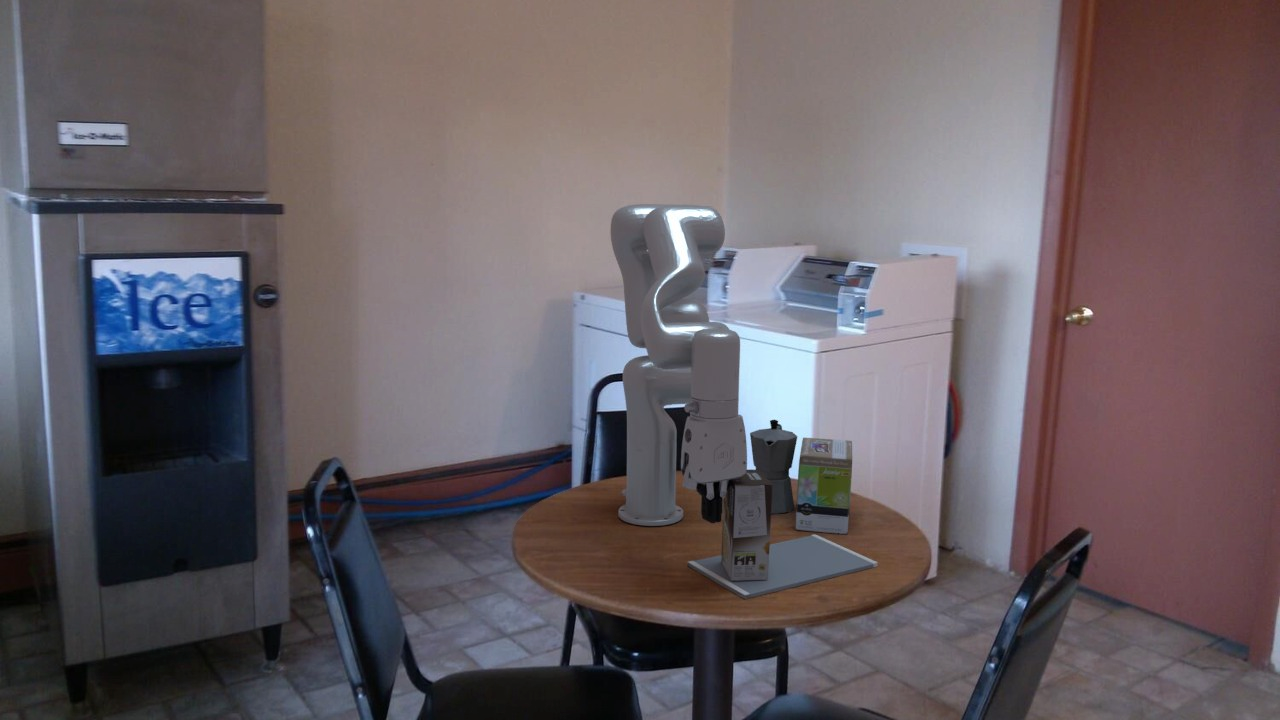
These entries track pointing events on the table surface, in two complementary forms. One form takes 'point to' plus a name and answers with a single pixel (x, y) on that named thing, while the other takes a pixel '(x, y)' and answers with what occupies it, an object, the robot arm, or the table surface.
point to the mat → (790, 566)
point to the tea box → (824, 485)
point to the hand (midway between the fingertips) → (711, 520)
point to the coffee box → (747, 527)
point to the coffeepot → (775, 462)
